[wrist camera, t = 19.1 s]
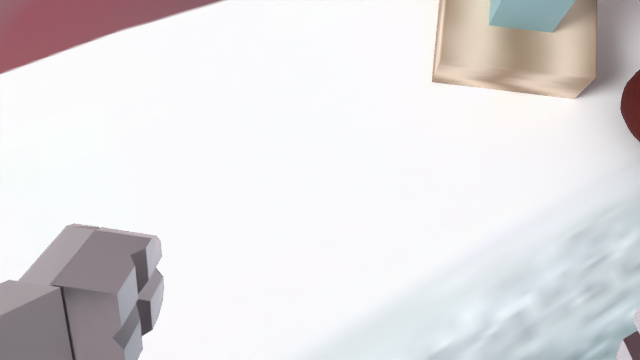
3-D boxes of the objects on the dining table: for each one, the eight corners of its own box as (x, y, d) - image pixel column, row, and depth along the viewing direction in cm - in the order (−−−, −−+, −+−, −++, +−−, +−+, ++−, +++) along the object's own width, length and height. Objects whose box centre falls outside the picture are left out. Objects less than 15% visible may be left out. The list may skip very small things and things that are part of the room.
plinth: (577, -25, 52) (597, -54, 48) (574, 98, 49) (595, 78, 45) (443, -39, 53) (452, -70, 49) (431, 81, 49) (440, 59, 46)
